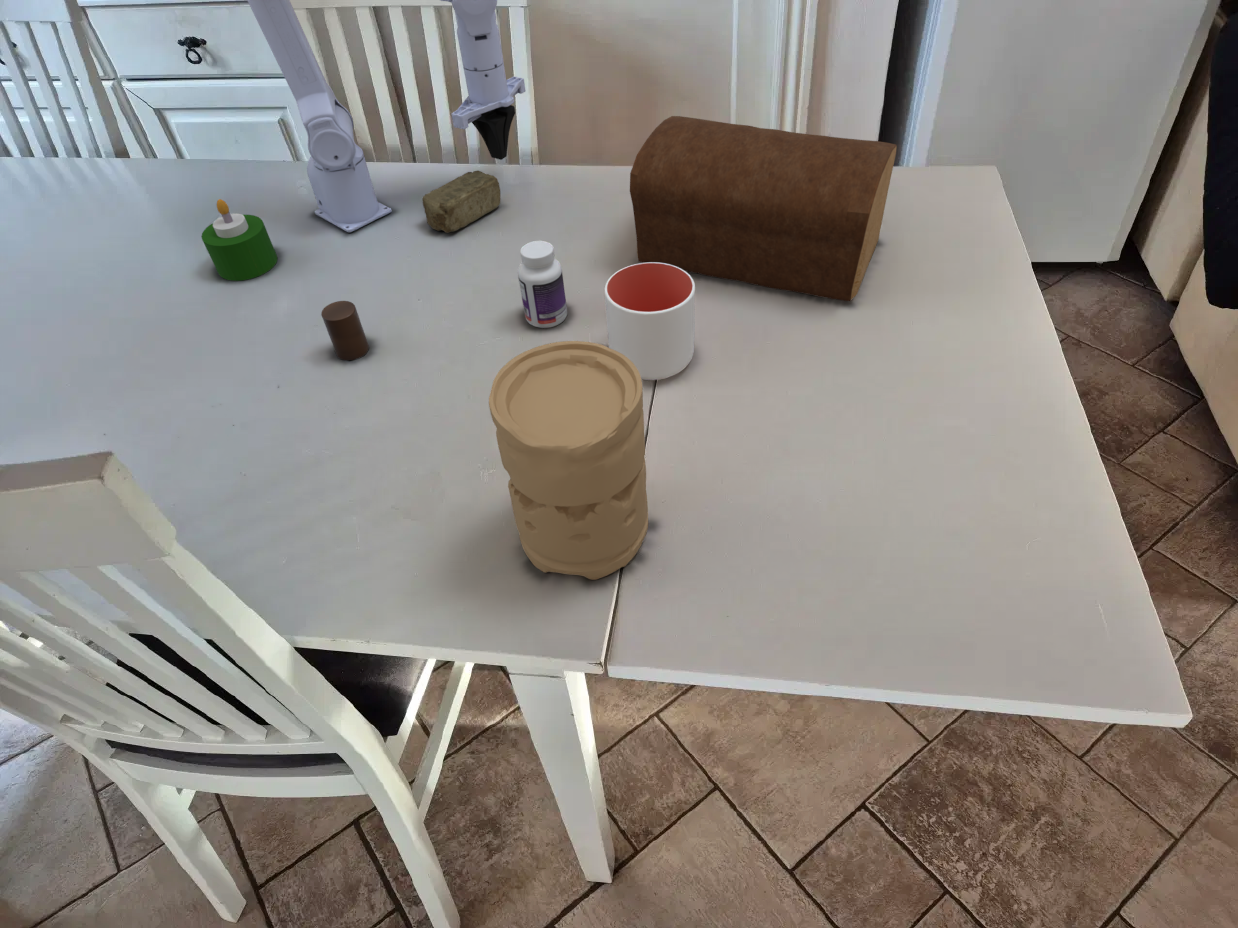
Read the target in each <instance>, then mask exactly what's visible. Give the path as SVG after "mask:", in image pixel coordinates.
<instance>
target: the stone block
mask: <svg viewBox="0 0 1238 928" xmlns="http://www.w3.org/2000/svg"><path fill="white" fill-rule="evenodd" d="M421 200H422V206H423V210H424V214H425V219H426V222H427V225H429V226H430V228H431V229H433V230H434V231H435V230H436V231H438V232H439V231H443V232H444V233H446V234H449V233H453V232H457V231H458V230H460V229H464V228H465V227H467V226H468V225H469V224H472V223H474V222H475V221H477V220H479V219H481V218H482V217H484V216H485V215H487V214H488V213H490V212H492V211H494V210H496V209H497V208H498V207H499V206H500V204H501V200H502V198H501V187H500V182H499V180H498V178H497V177H496V176H494V175H493V174H489V173H485V172H483V171H482V170H473V171H467V172H465V173H464V174H462V175H460V176H456V178H454V179H452V180H450V181H448V182H446V183H444V184H443V185H441V186H439V187H437V188H435V189H432V190H431V191H429V192H428V193H425V194H424V195H422V198H421Z"/></svg>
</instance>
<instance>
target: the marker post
mask: <svg viewBox="0 0 1238 928" xmlns="http://www.w3.org/2000/svg"><path fill="white" fill-rule="evenodd" d="M320 316H321V318H322V320H323V323H324V326H325V329H326V331H327V334H328V336H329V339H330V341H331V344H332V347H333V349H334V352H335V354H336V356H337V357H338V359H340V360H343V361H355V360H357V359H360V358H362V357H364V356H365V355H366V354H367V353H368V351H369V350H370V345H369V342H368V340H367V339H368V338H367V336H366V334H365V331H364V328H363V325H362V322H361V319H360V316H359V313H358V310H357V307H356V305H355V304H354V303H353V302H352V301H348V300H338V301H333V302H331V303H329V304H327V305H326V306H325V307H323V308H322V310H321V313H320Z"/></svg>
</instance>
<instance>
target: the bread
mask: <svg viewBox="0 0 1238 928" xmlns="http://www.w3.org/2000/svg"><path fill="white" fill-rule="evenodd" d="M896 155H897V144H896V143H890V142H886V141H879V140H868V139H857V138H847V137H837V136H830V135H820V134H810V133H801V132H791V131H786V130H781V129H776V128H765V127H764V128H763V127H757V126H753V125H746V124H737V123H729V122H724V121H723V122H722V121H716V120H710V119H703V118H696V117H688V116H682V115H671V116H669V117H667V118H666V119H663V120H662V121H661V123H659V124H658V125H657V126H656V127H655V128H654V130H653V131H652V132H651V133H650V134H649V135H648V137H647V139H646V140H645V141H644V143H643V144H642V146H641V148H640V149H639V151H638V152H637V154H636V156H635V159H634V161H633V164H632V167H631V170H630V173H629V194H630V199H631V203H632V210H633V211H632V212H633V219H634V227H635V237H636V256H637V262H639V263H647V262H657V263H665V264H670V265H673V266H676V267H679V268H681V269H682V270H684V271H686V272H687V273H688V272H689V273H694V274H699V275H703V276H706V277H712V278H719V279H724V280H730V281H736V282H741V283H745V284H749V285H750V284H751V285H754V286H759V287H763V288H764V287H765V288H770V289H775V290H781V291H788V292H793V293H800V294H805V295H809V296H810V295H811V296H815V297H819V298H825V299H831V300H839V301H844V302H851V301H852V300H853V299H854V298H855V297H856V296H857V295H858V293H859V290H860V287H861V285H862V283H863V279H864V277H865V275H866V272H867V270H868V267H869V264H870V262H871V260H872V257H873V255H874V253H875V250H876V248H877V245H878V242H879V239H880V234H881V229H882V224H883V218H884V213H885V208H886V203H887V199H888V193H889V188H890V185H891V178H892V174H893V170H894V164H895V160H896Z"/></svg>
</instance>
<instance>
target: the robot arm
mask: <svg viewBox="0 0 1238 928" xmlns="http://www.w3.org/2000/svg"><path fill="white" fill-rule="evenodd" d="M246 1H247V4H248V5H249V7H250V9H251V12H252V13H253V16H254V17H255V20H256V22H257V24H258V26H259V28H260V29H261V32H262V34H263V36H264V38H265V41H266V42H267V45H268V46H269V48H270V51H271V52H272V54H273V57H274V58H275V61H276V63H277V65H278V67H279V69H280V71H281V73H282V75H283V78H284V79H285V81H286V84H287V86H288V88H289V89H290V91H291V94H292V96H293V99H294V100H295V103H296V105H297V109H298V112H299V115H300V119H301V123H302V125H303V128H304V129H305V131H306V134H307V149H308V153H309V155H310V157H309V159H308V161H307V164H306V173H307V178H308V180H309V184H310V186H311V189H312V192H313V195H314V197H315V201H316V203H317V206H318V208H317V209H315V210H314V214H315V215H316V216H317V217H320V218H321V219H323V220H325V221H326V222H329V223H330V224H332V225H334V226H336V227H338V228H339V229H341V230H343V231H345V232H346V233H352V232H355V231H356V230H359V229H360V228H362V227H365V226H366V225H368V224H370V223H373V222H374V221H376V220H378V219H380V218H382V217H384V216H386V215H389V214H390V213H392V208H391V207H389V206H387V205H385V204H383V203H381V202H380V201H378V199H377V195H376V192H375V188H374V186H373V181H372V178H371V175H370V171H369V167H368V165H367V161H366V157H365V153H364V150H363V149H362V148H361V146H360V145H358V144H356V142H355V138H354V127H355V126H354V120H353V117H352V114H351V113H350V111H349V110H348V108H346V107H345V106H344V105H343V104H342V103H341V102H339V100H338V98H337V97H336V95H335V93H334V91H333V89H332V88H331V86H330V85H329V84H328V82H327V80H326V77H325V75H324V73H323V72H322V69H321V67H320V65H319V62H318V60H317V58H316V56H315V53H314V51H313V50H312V46H311V45H310V42H309V40H308V38H307V36H306V34H305V31H304V29H303V27H302V25H301V22H300V20H299V18H298V16H297V14H296V12H295V9H294V7H293V4H292V2H291V0H246ZM440 1H441V2H448V3H451V5H452V8H453V10H454V14H455V20H456V26H457V27H456V35H457V40H458V46H459V51H460V57H461V62H462V68H463V73H464V78H465V84H466V89H467V97H466V98H465V99H464V100H463V102H462V103H461V104H460V106H459V107H458V108H457V109H456V110H455V111H453V112H451V114H450V115H451V120H452V124H453V127H454V128H456V129H460V130H467V129H468V128H469V125H470V124H472V125H473V126H474V128H475V129H476V130H477V131H478V133H479V134H480V136H481V138H482V139H483V141H484V142H483V143H484V144H485V145H486V148H487V151H488V153H489V154H490V157H491V158H493V159H496V160H500V161H502V160H503V159H505V158H506V157H507V156H508V145H509V135H510V131H511V127H512V122H513V120H514V117H515V115H516V107H515V106H514V105H513V104H514V103H515V99H514V97H515V96H516V95H517V94H520V95H521V94H524V93H526V83H525V78H523V77H518V76H511V77H510V78H507V75H506V68H505V63H504V55H503V54H504V53H503V50H502V49H503V48H502V42H501V35H500V29H499V25H498V23H497V13H496V8H497V4H498V0H440Z"/></svg>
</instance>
